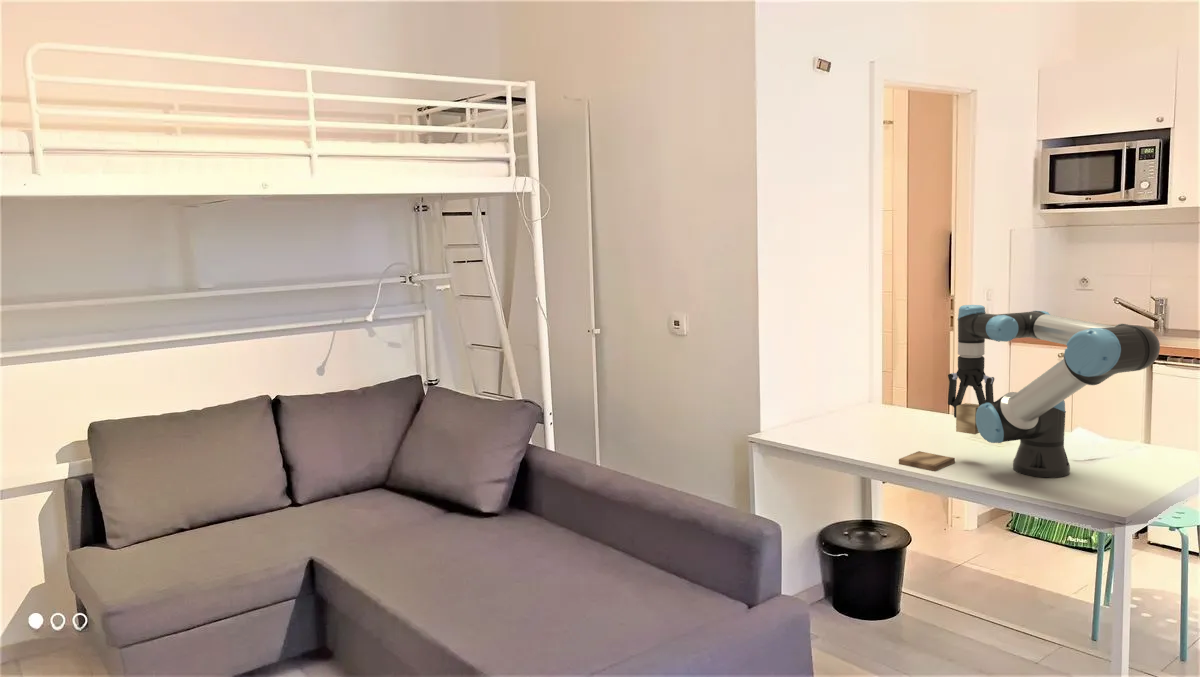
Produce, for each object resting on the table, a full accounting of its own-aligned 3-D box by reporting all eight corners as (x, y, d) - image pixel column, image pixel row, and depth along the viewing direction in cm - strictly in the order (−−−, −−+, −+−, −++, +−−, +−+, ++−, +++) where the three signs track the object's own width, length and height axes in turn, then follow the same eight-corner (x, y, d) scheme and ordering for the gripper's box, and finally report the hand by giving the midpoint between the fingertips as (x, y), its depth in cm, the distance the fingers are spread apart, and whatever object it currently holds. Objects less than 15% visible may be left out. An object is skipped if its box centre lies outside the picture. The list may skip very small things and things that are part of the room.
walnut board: (954, 462, 273) (954, 457, 273) (935, 471, 265) (935, 466, 265) (918, 455, 282) (918, 450, 282) (898, 463, 274) (898, 458, 274)
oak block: (984, 430, 271) (984, 405, 270) (975, 434, 267) (975, 408, 266) (965, 428, 276) (965, 402, 275) (956, 431, 272) (956, 405, 271)
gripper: (1007, 356, 264) (1006, 432, 267) (947, 351, 278) (946, 423, 281) (996, 360, 259) (995, 437, 262) (935, 354, 273) (934, 427, 276)
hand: (970, 429), depth 271 cm, fingers closed on oak block, 6 cm apart
